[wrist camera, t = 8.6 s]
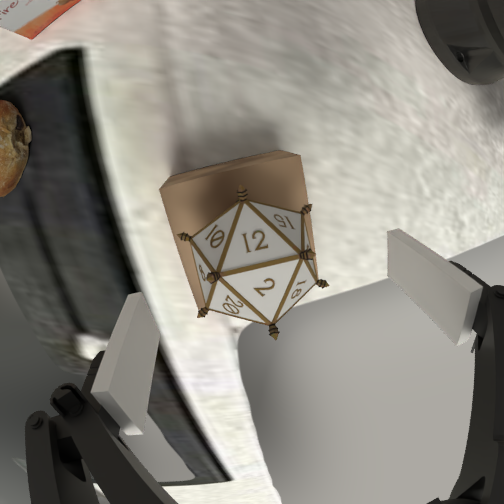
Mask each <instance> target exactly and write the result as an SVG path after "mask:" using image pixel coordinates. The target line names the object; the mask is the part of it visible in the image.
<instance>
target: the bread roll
mask: <svg viewBox="0 0 504 504" xmlns="http://www.w3.org/2000/svg"><path fill="white" fill-rule="evenodd" d="M31 140H32V136H31V130H30V128H29V126H28V127H27V126H26V124H25V122H24V120H23V118H22V116H21V114H20V113H19V111H18V109H17V108H16V107H15V106H14V105H13V104H12V103H11V102H8V101H4V100H0V197H1V196H2V197H3V196H5V195H6V194H8V193H9V192H11V191H12V190H13V189H14V188H15V187H16V185H17V183H18V181H19V179H20V178H21V177H22V173H23V170H24V168H25V166H26V163H27V160H28V155H29V147H28V143H30V141H31Z"/></svg>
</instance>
